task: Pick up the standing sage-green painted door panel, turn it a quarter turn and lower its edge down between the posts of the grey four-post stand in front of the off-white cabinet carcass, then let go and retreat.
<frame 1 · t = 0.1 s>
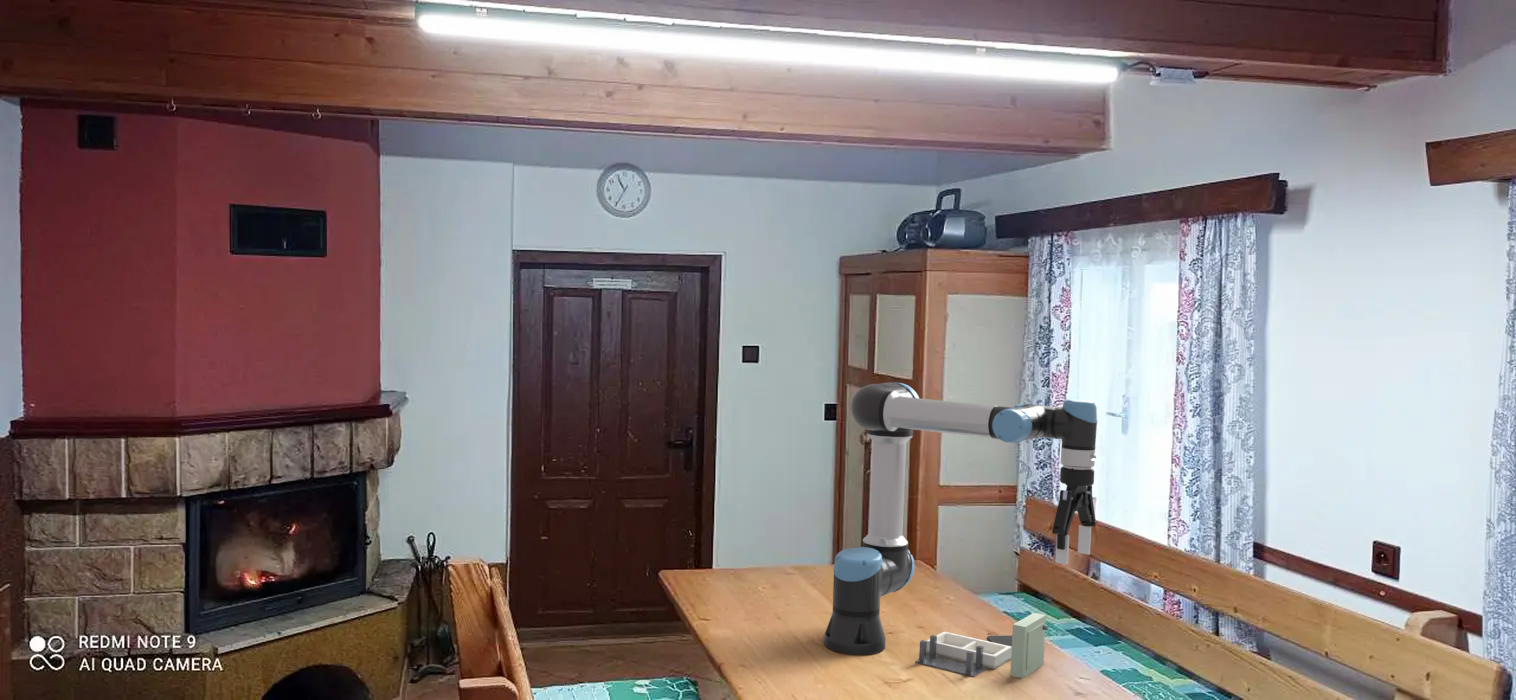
hand: (1072, 558, 253), 28 cm above the table, fingers open, 13 cm apart
grey four-post stand: (950, 666, 259), on the table
smartphone: (1010, 649, 276), on the table
carcass: (968, 655, 267), on the table
door panel: (1027, 669, 259), on the table
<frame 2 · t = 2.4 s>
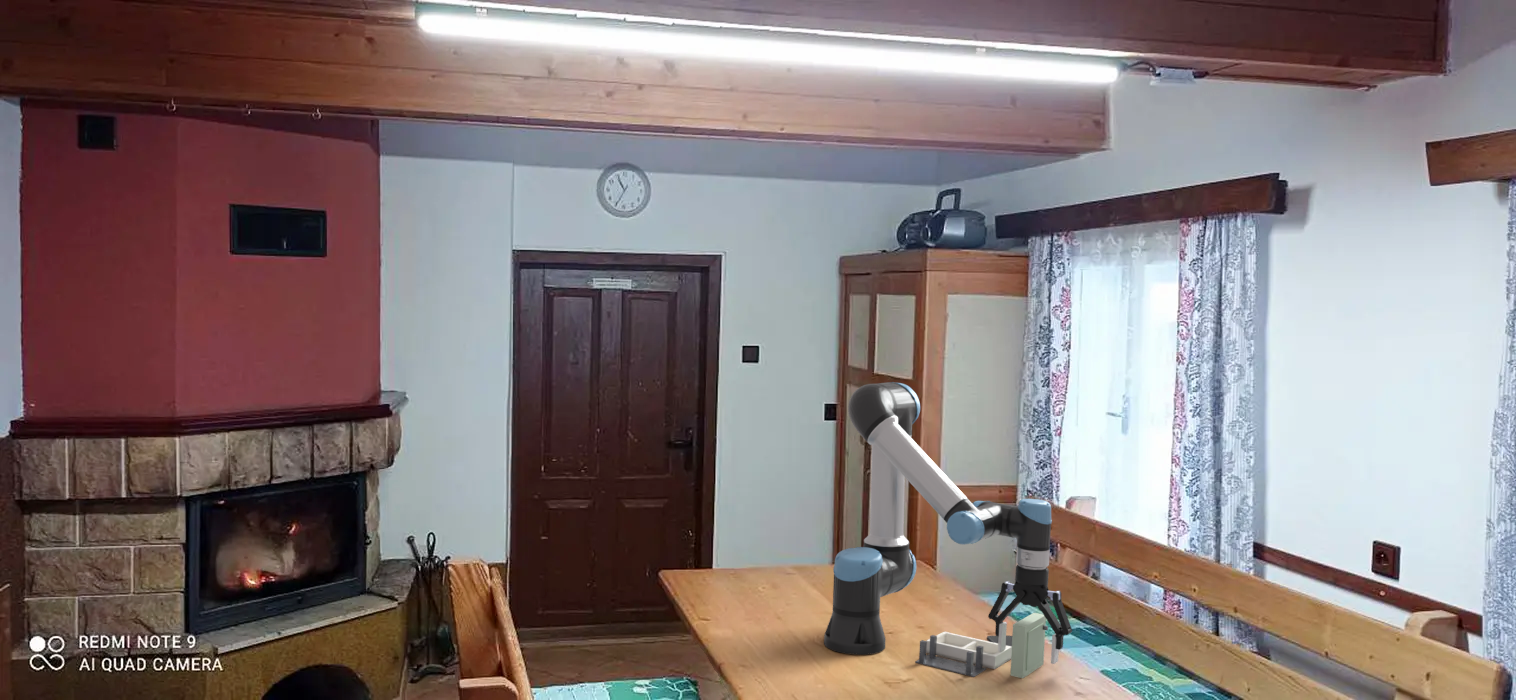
hand: (1027, 656, 258), 3 cm above the table, fingers open, 12 cm apart
nothing on the table moved.
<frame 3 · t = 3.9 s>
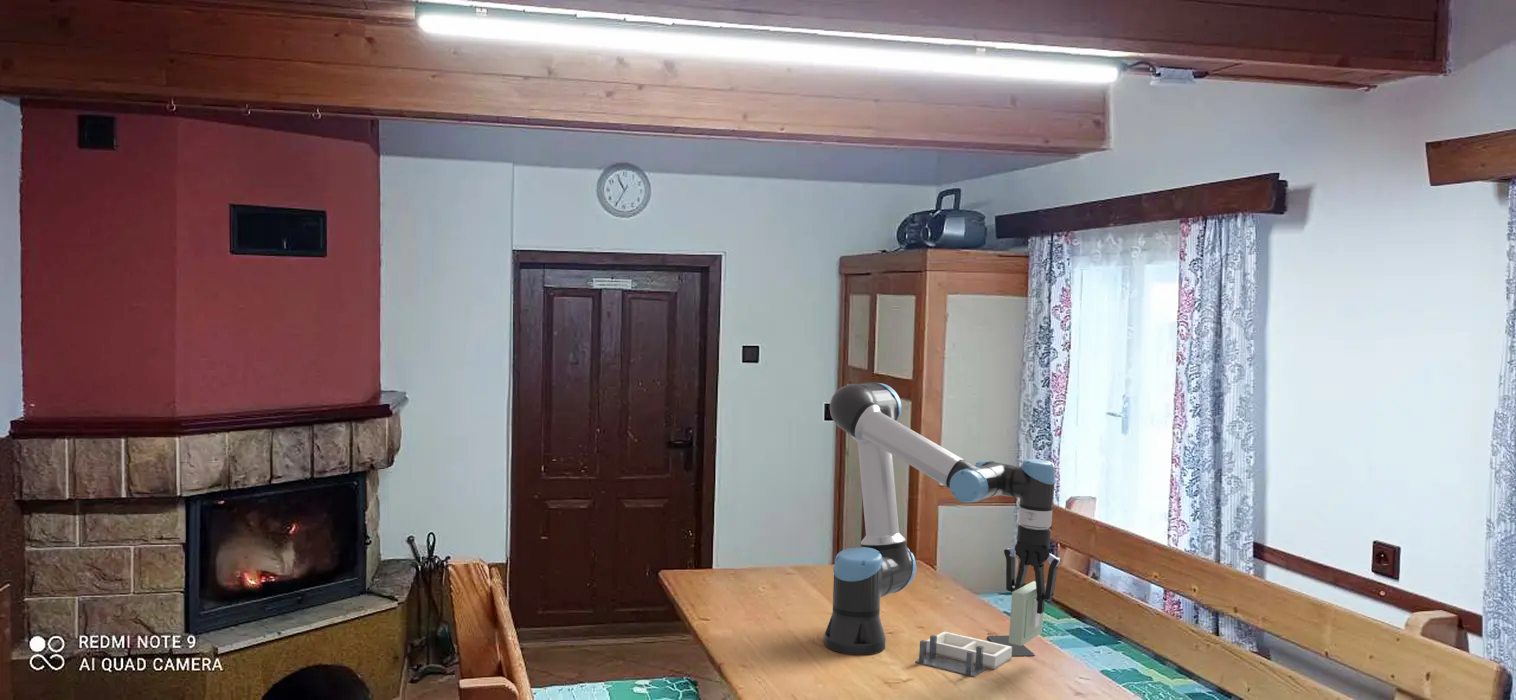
hand: (1027, 624, 258), 11 cm above the table, fingers closed on door panel, 3 cm apart
door panel: (1025, 637, 259), point 7 cm above the table, touching gripper
everything else where it was.
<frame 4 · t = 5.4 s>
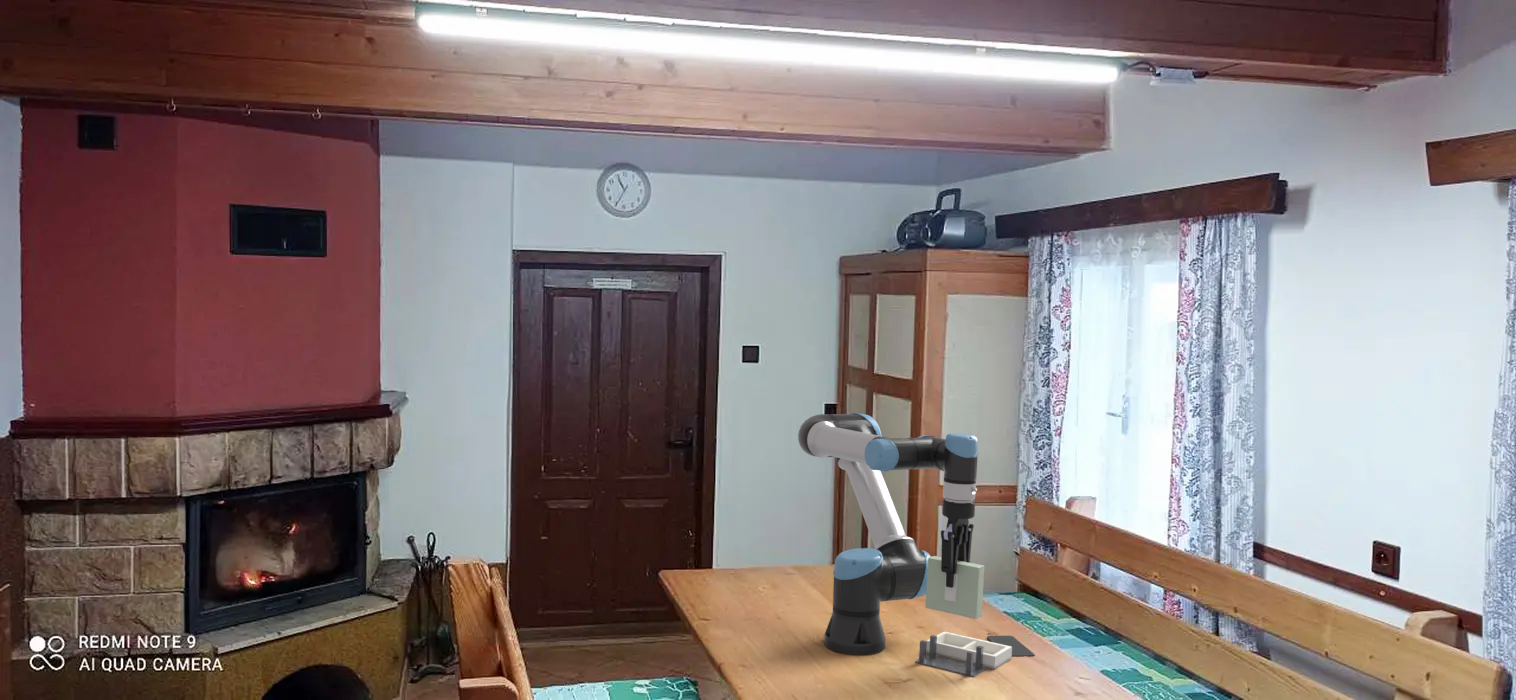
hand: (954, 598, 258), 16 cm above the table, fingers closed on door panel, 3 cm apart
door panel: (953, 612, 258), point 13 cm above the table, touching gripper
everything else where it was.
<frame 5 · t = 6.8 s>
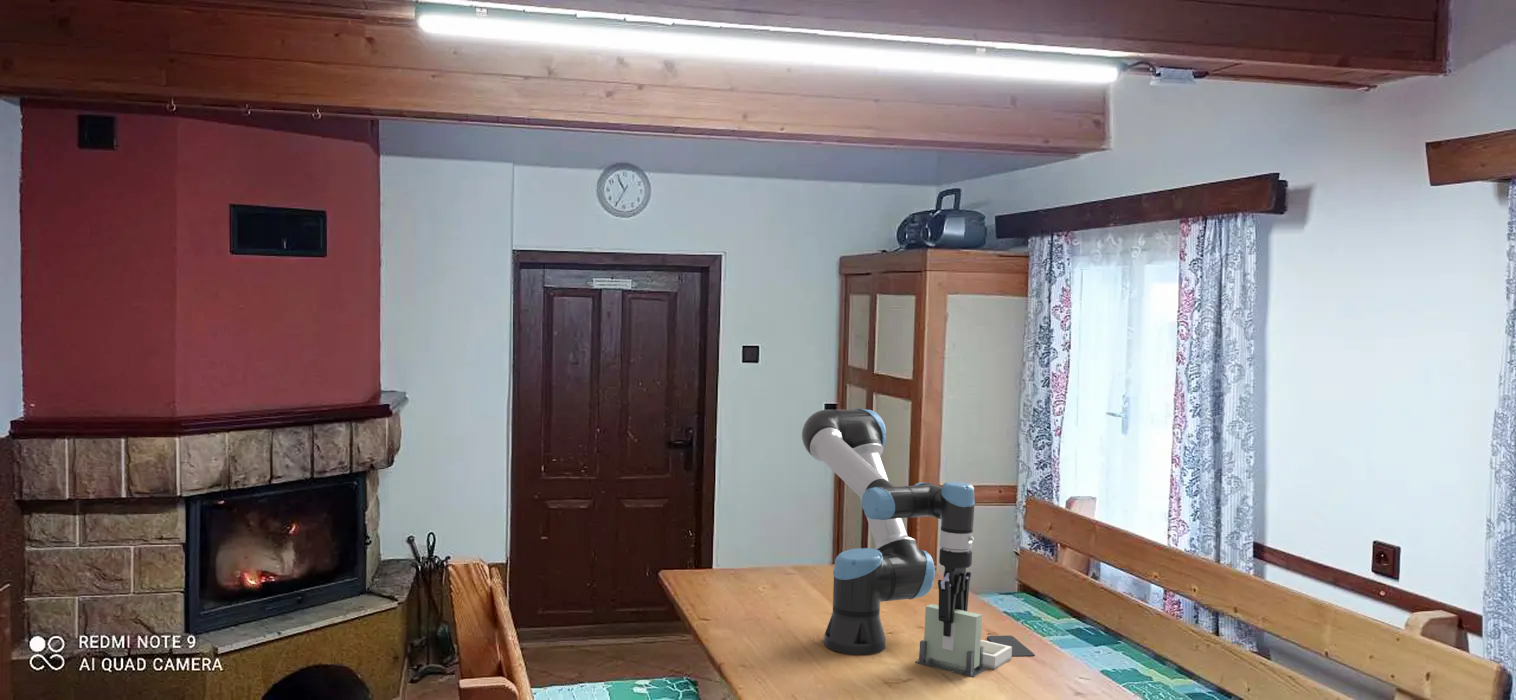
hand: (951, 647, 259), 5 cm above the table, fingers closed on door panel, 3 cm apart
door panel: (951, 660, 259), point 1 cm above the table, touching gripper
everything else where it was.
when the fingers open (3 cm above the table, at t = 7.3 s): door panel stays where it is, resting on grey four-post stand.
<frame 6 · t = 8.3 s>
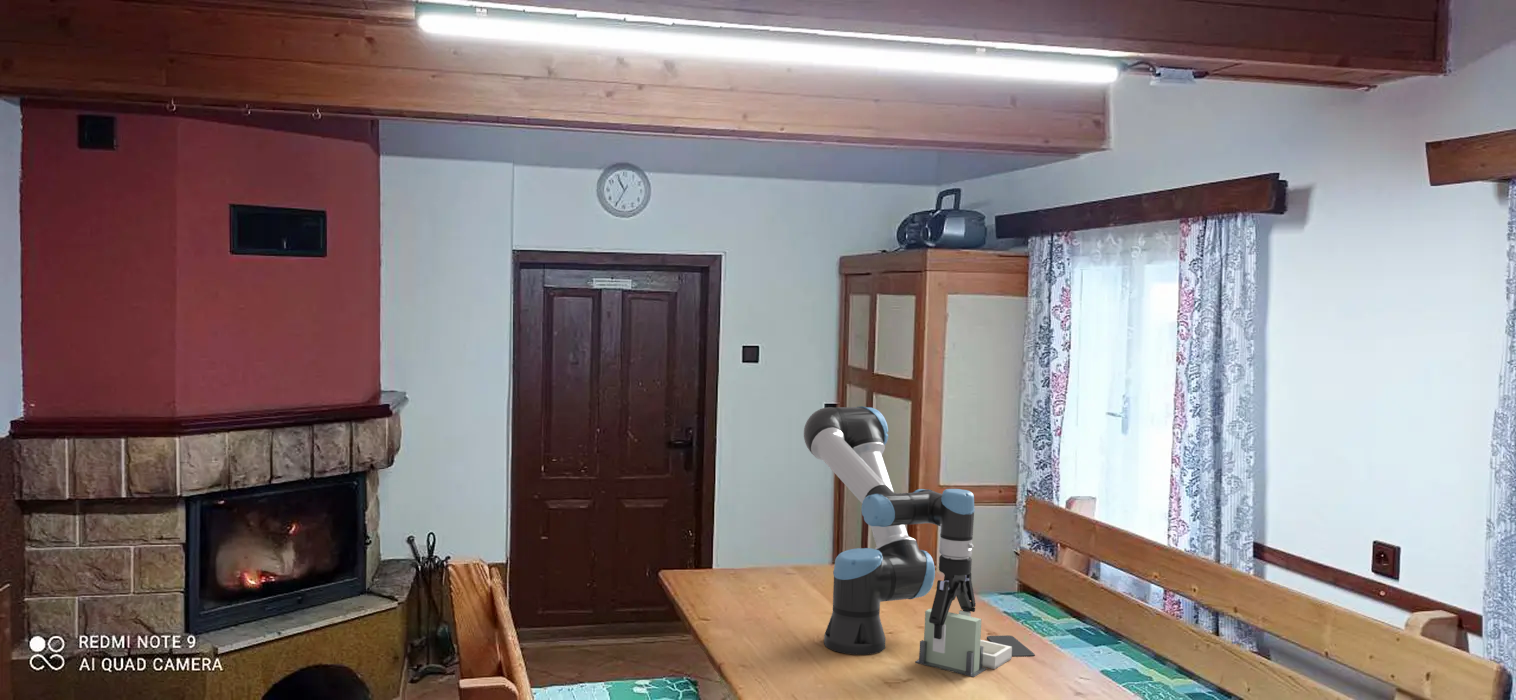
hand: (951, 645, 259), 5 cm above the table, fingers open, 13 cm apart
door panel: (950, 665, 259), resting on grey four-post stand
everything else where it was.
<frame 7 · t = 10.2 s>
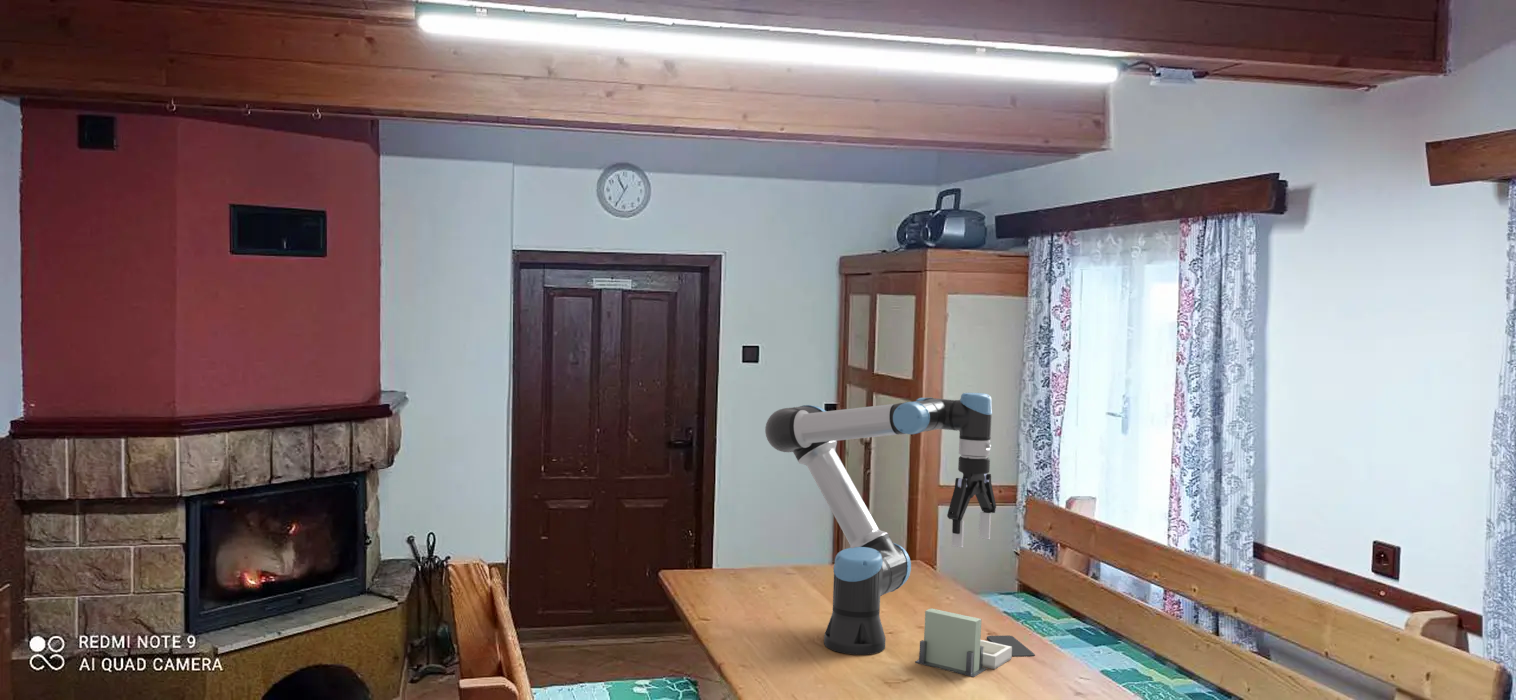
hand: (971, 542, 269), 27 cm above the table, fingers open, 13 cm apart
nothing on the table moved.
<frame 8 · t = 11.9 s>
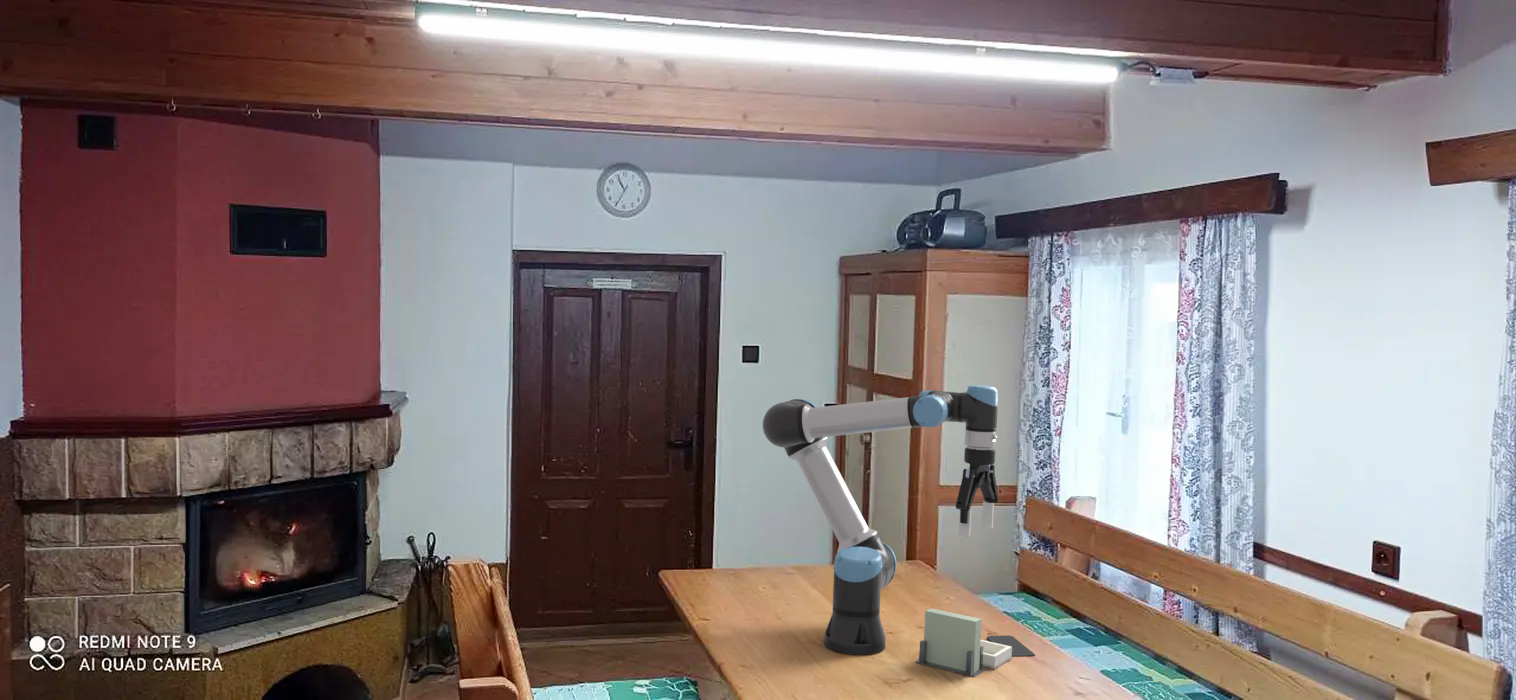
hand: (976, 532, 274), 29 cm above the table, fingers open, 13 cm apart
nothing on the table moved.
at the end: door panel 0.3 cm off-centre on the grey four-post stand, point 0.3 cm above the grey four-post stand's base; door panel tilted 0°; the gripper is holding nothing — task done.
